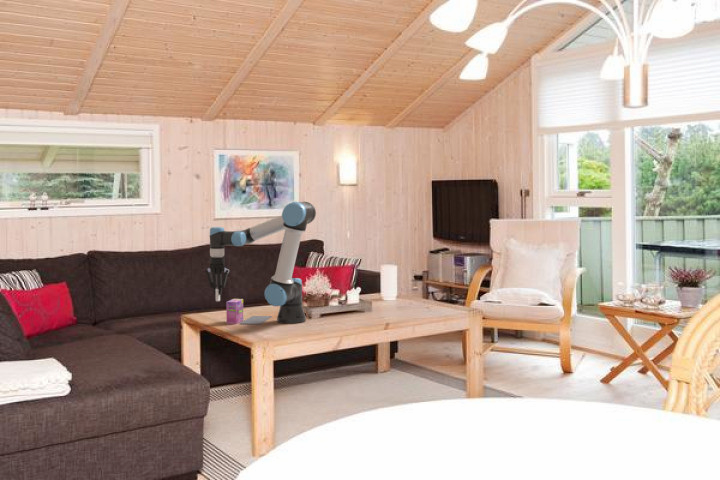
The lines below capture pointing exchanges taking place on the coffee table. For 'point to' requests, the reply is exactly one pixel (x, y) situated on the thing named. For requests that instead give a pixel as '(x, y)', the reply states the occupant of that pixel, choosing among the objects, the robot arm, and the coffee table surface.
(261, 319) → the felt mat
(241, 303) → the box
